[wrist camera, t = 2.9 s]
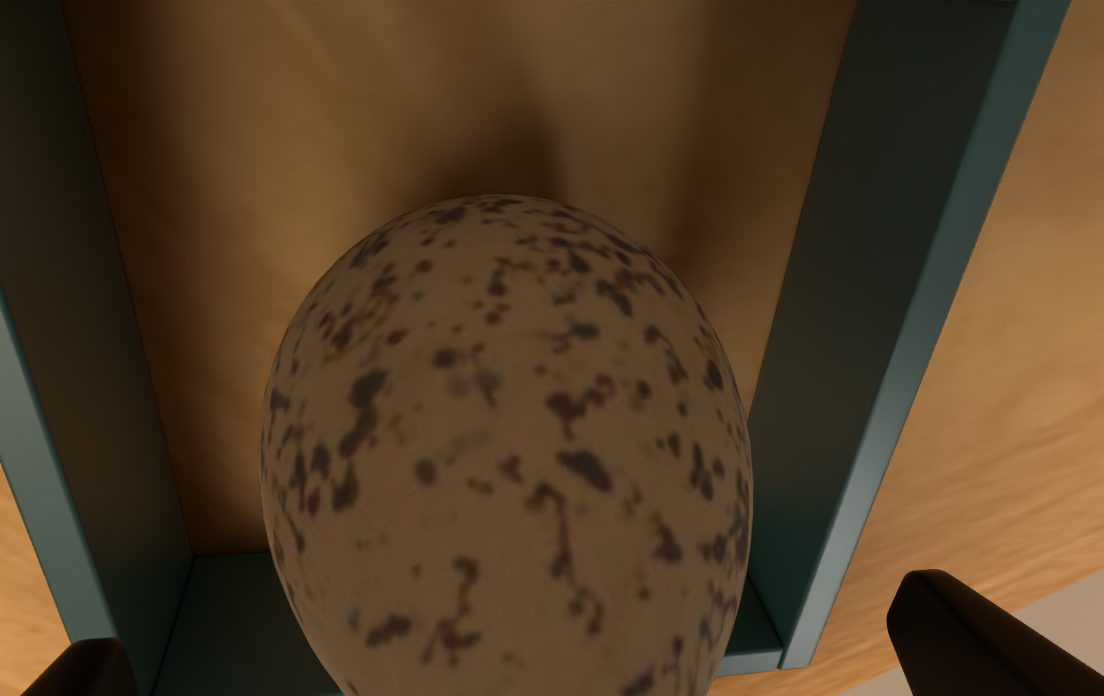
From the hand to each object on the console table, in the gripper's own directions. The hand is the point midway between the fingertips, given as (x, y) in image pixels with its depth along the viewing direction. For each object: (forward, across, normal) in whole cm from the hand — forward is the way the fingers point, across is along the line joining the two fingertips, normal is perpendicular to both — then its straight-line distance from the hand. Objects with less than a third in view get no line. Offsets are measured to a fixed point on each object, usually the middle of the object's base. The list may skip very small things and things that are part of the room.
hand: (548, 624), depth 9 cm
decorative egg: (+8, 0, 0) cm, 8 cm away
